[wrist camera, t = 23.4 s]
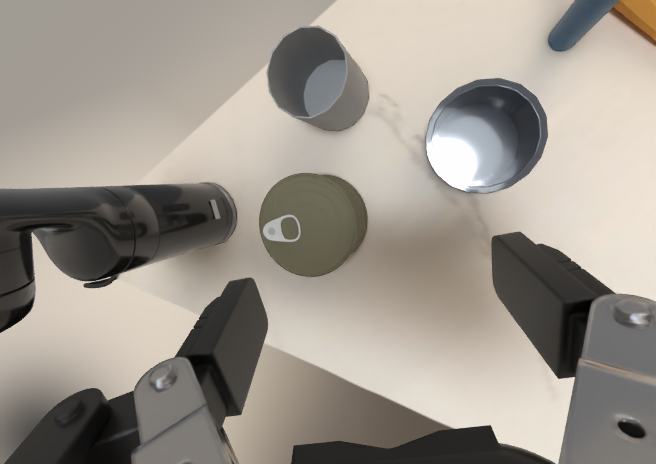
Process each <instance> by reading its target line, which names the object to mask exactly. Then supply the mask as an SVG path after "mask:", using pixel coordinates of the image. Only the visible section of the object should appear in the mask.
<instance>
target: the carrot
mask: <svg viewBox="0 0 656 464" xmlns="http://www.w3.org/2000/svg"><path fill="white" fill-rule="evenodd" d="M613 8H615V9H616V10H617V11H618V12H620V13H621V14H622V15H624V16H625V17H626V18H627V19H629V20H630V21H631V22H632V23H634V24H635V25H636V26H637V27H639V28H640V29H641V30H643V31H644V32H645V33H646V34H648V35H649V36H650V37H651V38H653V39H654V40H655V41H656V0H620V1H619V2H618V3H617V4H616V5H615V6H614V7H613Z"/></svg>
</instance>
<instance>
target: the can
mask: <svg viewBox="0 0 656 464" xmlns="http://www.w3.org/2000/svg"><path fill="white" fill-rule="evenodd" d="M259 226H260V233H261V237H262V240H263V243H264V245H265V247H266V249H267V251H268V253H269V254H270V256H271V257H272V258H273V259H274V260H275V261H276V262H277V263H278V264H279V265H280V266H281V267H283V268H284V269H286V270H287V271H289V272H291V273H294V274H296V275H300V276H306V277H316V276H321V275H325V274H328V273H330V272H332V271H334V270H335V269H337V268H338V267H339V266H341V265H342V264H343V263H344V262H345V261H346V259H347V258H348V257H349V255H350V254H351V253H353V252H354V251H355V250H356V249H357V247H358V246H359V245H360V243H361V242H362V240H363V238H364V235H365V232H366V228H367V212H366V207H365V204H364V202H363V200H362V198H361V196H360V194H359V193H358V192H357V190H356V189H355V188H354V187H353V186H352V185H350V184H349V183H348V182H346V181H345V180H343V179H341V178H338V177H335V176H330V175H317V174H312V173H299V174H294V175H291V176H288V177H286V178H284V179H282V180H281V181H279V182H278V183H277V184H275V185H274V186H273V187H272V188H271V190H270V191H269V192H268V194H267V195H266V197H265V199H264V201H263V204H262V207H261V211H260V218H259Z"/></svg>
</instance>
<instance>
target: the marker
mask: <svg viewBox="0 0 656 464" xmlns="http://www.w3.org/2000/svg"><path fill="white" fill-rule="evenodd" d="M619 1H620V0H575V1H574V3H573V4H572V5H571V6H570V8H569V9H568V10H567V12H566V13H565V14H564V15H563V17H562V18H561V19H560V21H559V22H558V23H557V25H556V26H555V27H554V28H553V30H552V31H551V33H550V35H549V39H548V41H549V45H550V47H551V48H552V49H554V50H556V51H565V50H567V49H569V48H571V47H572V46H573V45H575V44H576V43H577V42H578V41H579V40H580V39H581V38H582V37H583V36H584V35H585V34H586V33H587V32H588V31H589V30H590V29H591V28H592V27H593V26H594V25H595V24H596V23H597V22H598V21H599V20H600V19H601V18H602V17H603V16H604V15H605V14H606V13H607V12H609V11H610V10H611V9H612V8H613V7H614V6H615V5H616V4H617V3H618V2H619Z"/></svg>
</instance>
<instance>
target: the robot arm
mask: <svg viewBox="0 0 656 464" xmlns="http://www.w3.org/2000/svg"><path fill="white" fill-rule="evenodd" d="M235 225H236V209H235V205H234V203H233V200H232V198H231V197H230V195H229V194H228V193H227V192H226V191H225V190H224V189H223V188H222V187H220V186H219V185H217V184H214V183H197V184H163V185H133V186H106V187H77V188H45V189H44V188H43V189H0V333H1V332H3V331H5V330H6V329H8V328H10V327H12V326H13V325H14V324H16V323H18V322H19V321H21V320H22V319H23V318H24V317H25V316H26V315H27V314H28V313H29V312H30V311H31V309H32V307H33V303H34V300H35V276H34V275H35V273H34V261H33V250H32V236H31V233H32V232H33V233H34V235H35V236H36V237H37V238H38V240H39V241H40V243H41V244H42V246H43V248H44V250H45V251H46V253H47V255H48V256H49V258H50V259H51V260H52V261H53V263H54V264H55V265H56V266H57V267H58V268H59V269H60V270H61V271H62V272H63V273H65V274H66V275H68V276H70V277H71V278H74V279H77V280H80V281H95V282H91V283H85V284H84V287H86V288H100V287H104V286H107V285H109V284H111V283H112V282H113V281H114V280H117V278H116V276H117V274H120V273H123V272H127V271H130V270H133V269H136V268H140V267H142V266H146V265H149V264H152V263H156V262H159V261H162V260H165V259H169V258H172V257H175V256H178V255H182V254H185V253H188V252H192V251H195V250H198V249H202V248H205V247H208V246H213V245H217V244H220V243H223V242H224V241H226V240H227V239H228V238H229V237H230V236H231V234H232V233H233V231H234V228H235ZM491 245H492V278H493V285H494V288H495V291H496V293H497V296H498V297H499V299H500V300H501V301H502V303H503V304H504V306H505V307H506V308H507V310H508V311H509V312H510V314H511V315H512V316H513V318H514V319H515V321H516V322H517V323H518V325H519V326H520V327H521V329H522V330H523V331H524V333H525V334H526V336H527V337H528V338H529V340H530V341H531V342H532V344H533V345H534V346H535V348H536V349H537V351H538V352H539V353H540V355H541V356H542V357H543V359H544V360H545V361H546V363H547V364H548V366H549V367H550V368H551V370H552V371H553V372H554V374H555V375H556V376H557V378H558V379H561V378H570V377H575V381H574V386H573V391H572V396H571V401H570V407H569V412H568V417H567V422H566V427H565V432H564V438H563V443H562V448H561V453H560V458H559V464H656V302H655V301H653V300H650V299H647V298H643V297H639V296H635V295H628V294H616V293H614V292H613V291H612V290H610V289H609V288H608V287H607V286H605V285H604V284H603V283H601V282H600V281H599V280H597V279H596V278H595V277H593V276H592V275H591V274H589V273H588V272H587V271H586V270H584V269H581V267H580V266H579V265H578V264H576V263H575V262H574V261H571V259H570V258H568V257H567V256H566V255H565V254H563V253H562V252H561V251H559V250H557V249H554V248H552V247H549V246H546V245H544V244H537V245H536V244H535V243H533V242H532V241H531V240H530V239H529V238H527V237H526V236H525V235H524V234H522V233H521V232H514V233H508V234H502V235H497V236H493V238H492V244H491ZM107 277H111V278H108V279H104V278H107ZM100 279H104V280H100ZM96 280H100V281H96ZM267 330H268V319H267V314H266V311H265V308H264V306H263V303H262V300H261V297H260V294H259V292H258V289H257V286H256V283H255V281H254V280H253V279H252V278H245V279H239V280H233V281H230V282H229V283H228V284H227V286H226V288H225V289H224V291H223V293H222V294H221V296H220V297H217V298H216V299H215V300H214V301H212V302H211V303H210V304H209V305H208V306H207V307H206V308H205V309H204V311H203V313H202V314H201V316H200V317H199V320H198V321H197V322H196V324H195V326H194V329H192V330H191V332H190V334H189V335H188V337H187V338H186V340H185V342H184V343H183V345H182V346H181V348H180V350H179V351H178V353H177V354H176V356H175V357H174V358H171V359H168V360H165V361H163V362H161V363H159V364H157V365H156V366H154V367H153V368H151V369H150V370H149V371H147V372H146V373H145V374H144V375H143V376H142V377H141V378H140V380H139V381H138V383H137V385H136V386H135V389H134V391H132V392H129V393H126V394H124V395H121V396H119V397H116V398H113V399H111V400H108V401H107V399H106V398H105V396H104V395H103V393H102V392H101V391H100V390H99V389H96V388H91V389H86V390H82V391H80V392H77V393H75V394H73V395H71V396H69V397H68V398H66V399H65V400H63V401H62V402H60V403H59V404H57V405H56V406H55V407H54V408H53V409H52V410H51V411H49V412H48V413H47V415H46V416H45V417H44V418H43V419H42V420H41V421H40V422H39V424H38V425H37V426H36V427H35V428H34V429H33V431H32V432H31V433H30V434H29V435H28V437H27V438H26V439H25V440H24V441H23V442H22V443H21V445H20V446H19V447H18V448H17V449H16V450H15V452H14V453H13V454H12V455H11V456H10V457H9V459H8V460H7V461H6V462H5V463H4V464H239V463H238V460H237V458H236V456H235V453H234V451H233V449H232V446H231V444H230V442H229V440H228V437H227V435H226V433H225V431H224V429H223V427H222V425H223V423H224V420H225V417H228V416H236V415H241V414H242V410H243V407H244V404H245V401H246V398H247V394H248V391H249V388H250V385H251V382H252V378H253V375H254V372H255V368H256V366H257V362H258V359H259V356H260V353H261V350H262V347H263V343H264V340H265V337H266V334H267ZM291 464H555V463H554V462H552V461H550V460H548V459H546V458H544V457H542V456H540V455H537V454H535V453H533V452H530V451H527V450H525V449H522V448H519V447H515V446H511V445H507V444H501V443H498V441H497V439H496V437H495V434H494V432H493V430H492V427H491V425H489V426H479V427H469V428H460V429H450V430H441V431H437V432H435V433H432V434H429V435H427V436H424V437H421V438H419V439H416V440H413V441H411V442H408V443H406V444H403V445H400V446H398V447H395V448H390V449H386V448H379V447H373V446H367V445H361V444H355V443H349V442H343V441H335V442H325V443H315V444H305V445H296V446H294V448H293V455H292V463H291Z"/></svg>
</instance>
